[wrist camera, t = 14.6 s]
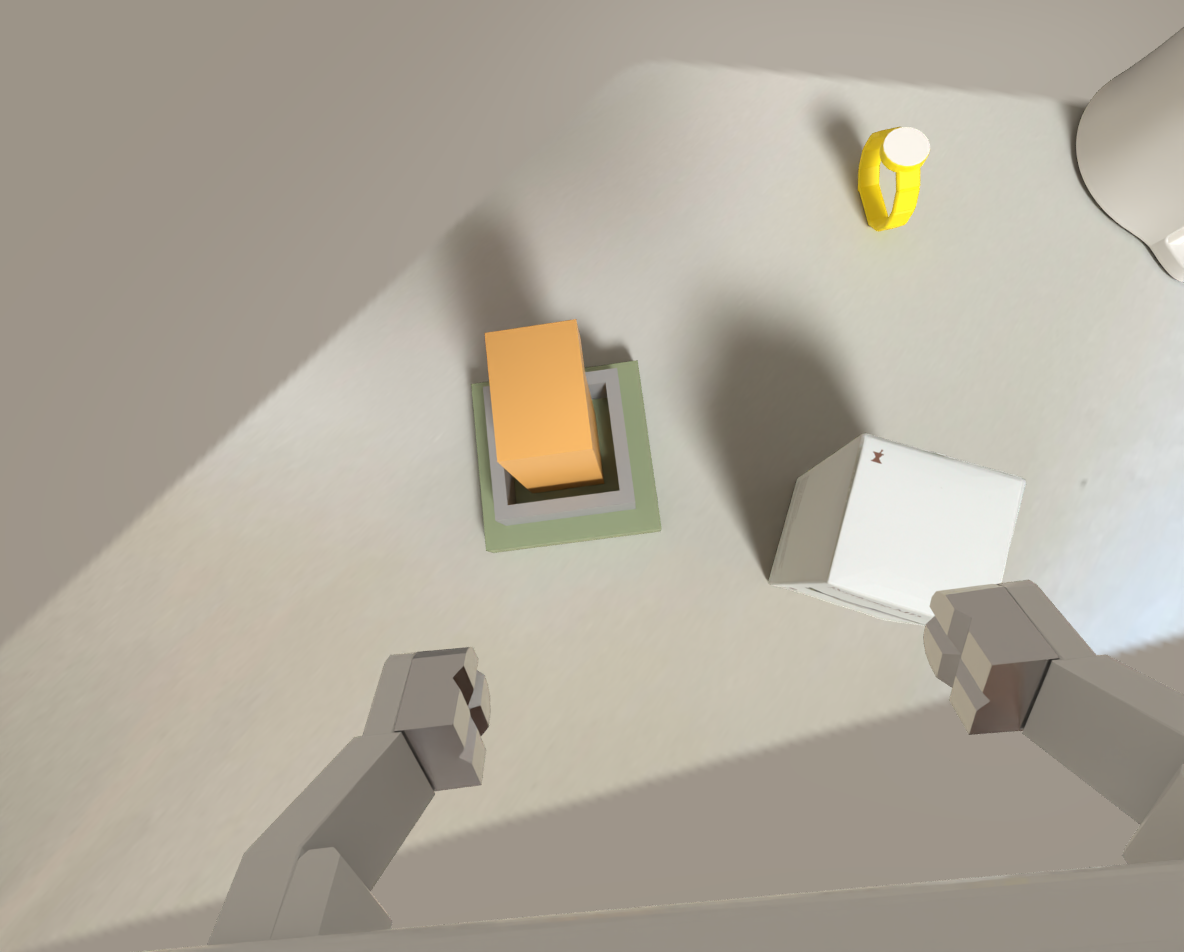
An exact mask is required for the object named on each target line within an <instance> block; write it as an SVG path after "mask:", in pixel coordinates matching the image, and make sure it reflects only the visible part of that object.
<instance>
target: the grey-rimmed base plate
mask: <svg viewBox="0 0 1184 952" xmlns="http://www.w3.org/2000/svg"><path fill="white" fill-rule="evenodd" d="M584 369H585V375H586V379H587V383H588V387H589V391H590V395H591V399H592V403H593V407H594V410H595V415H596V423H597V430H598V438H599V446H600V453H601V461H602V469H603V476H604V484H599V485H592V486H584V487H577V488H570V489H562V490H555V491H548V492H540V493H533V494H532V493H531V492H530V491H529V490H528V489H527V488H526V487H525V486H523V485H522V484H521V483H520V482H519V481H518V480H517V479H516V478H515V477H513V476H512V475H511V474H510V473H509V472H508V471H507V470H506V469H505V468H504V467H502V466H501V465H500V464H499V463H498V462H497V454H496V444H495V434H494V424H493V414H492V403H491V393H490V383H489V382H482V383H475V384H471V387H472V398H473V409H474V421H475V432H476V443H477V454H478V465H479V476H480V487H481V498H482V510H483V521H484V532H485V543H486V551H488V552H492V553H496V552H504V551H512V550H519V549H527V548H535V547H543V546H550V545H558V544H566V543H574V542H582V541H589V540H597V539H605V538H613V537H620V536H628V535H636V534H644V533H652V532H659V531H661V522H660V515H659V508H658V501H657V494H656V487H655V480H654V473H653V466H652V459H651V452H650V445H649V438H648V431H647V424H646V417H645V410H644V403H643V396H642V389H641V382H640V375H639V368H638V361H637V360H636V361H629V362H622V363H615V364H608V365H601V366H594V367H587V368H584Z"/></svg>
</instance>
